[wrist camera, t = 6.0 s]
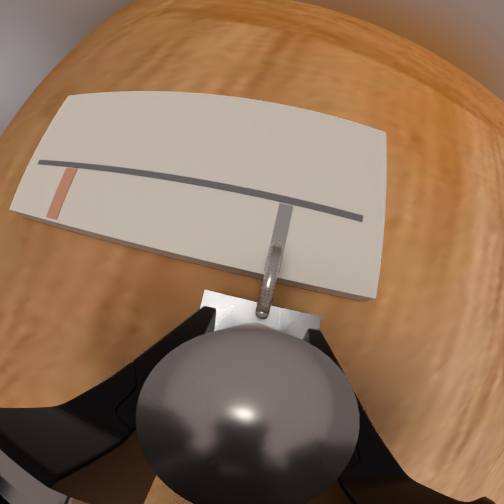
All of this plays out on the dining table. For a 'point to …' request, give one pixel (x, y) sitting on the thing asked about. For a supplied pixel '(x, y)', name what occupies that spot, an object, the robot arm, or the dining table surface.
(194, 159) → the board
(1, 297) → the dining table surface
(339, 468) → the grey piece
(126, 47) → the dining table surface
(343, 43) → the dining table surface
